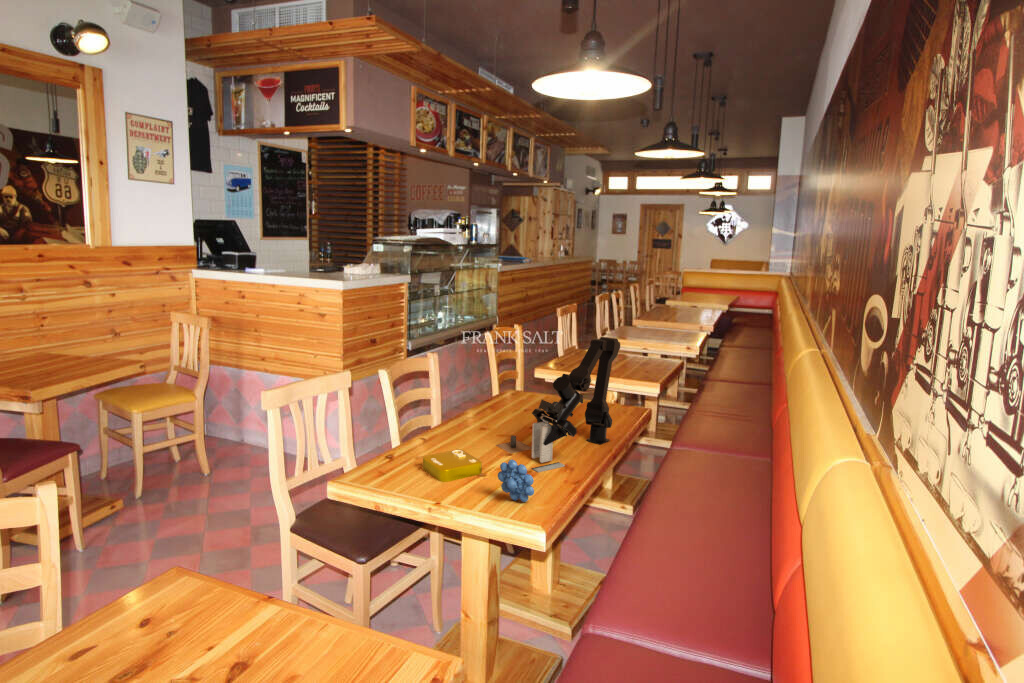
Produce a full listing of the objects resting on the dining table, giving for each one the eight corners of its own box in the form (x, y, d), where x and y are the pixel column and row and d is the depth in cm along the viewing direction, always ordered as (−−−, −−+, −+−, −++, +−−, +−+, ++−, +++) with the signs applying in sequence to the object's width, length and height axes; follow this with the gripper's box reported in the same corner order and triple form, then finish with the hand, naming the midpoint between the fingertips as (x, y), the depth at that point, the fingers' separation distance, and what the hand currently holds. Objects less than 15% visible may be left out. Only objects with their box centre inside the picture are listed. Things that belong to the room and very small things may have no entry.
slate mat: (545, 456, 212) (545, 455, 212) (564, 466, 203) (564, 465, 203) (518, 461, 206) (518, 460, 206) (537, 472, 197) (538, 471, 197)
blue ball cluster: (490, 501, 174) (490, 461, 172) (501, 493, 180) (502, 454, 178) (526, 510, 169) (527, 469, 167) (537, 501, 175) (538, 461, 173)
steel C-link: (542, 455, 208) (543, 421, 206) (552, 460, 203) (553, 425, 201) (531, 457, 205) (532, 423, 203) (541, 462, 201) (542, 427, 199)
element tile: (420, 468, 199) (420, 454, 198) (460, 460, 207) (460, 447, 206) (442, 484, 187) (442, 469, 186) (484, 474, 195) (484, 460, 194)
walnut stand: (518, 443, 225) (518, 430, 224) (534, 451, 217) (534, 437, 216) (495, 447, 219) (495, 434, 219) (510, 456, 211) (510, 442, 210)
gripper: (536, 385, 210) (509, 420, 206) (571, 397, 195) (542, 436, 191) (554, 404, 216) (528, 439, 212) (589, 417, 200) (561, 455, 196)
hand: (539, 442), depth 202 cm, fingers closed on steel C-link, 5 cm apart
